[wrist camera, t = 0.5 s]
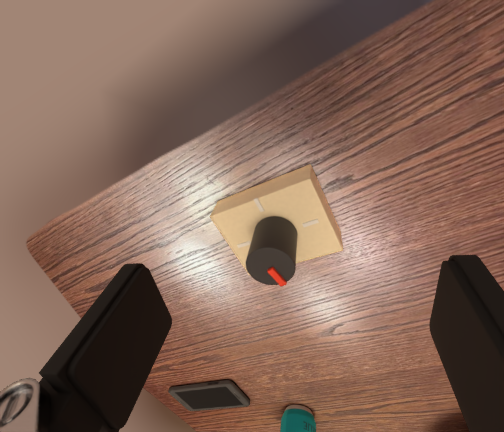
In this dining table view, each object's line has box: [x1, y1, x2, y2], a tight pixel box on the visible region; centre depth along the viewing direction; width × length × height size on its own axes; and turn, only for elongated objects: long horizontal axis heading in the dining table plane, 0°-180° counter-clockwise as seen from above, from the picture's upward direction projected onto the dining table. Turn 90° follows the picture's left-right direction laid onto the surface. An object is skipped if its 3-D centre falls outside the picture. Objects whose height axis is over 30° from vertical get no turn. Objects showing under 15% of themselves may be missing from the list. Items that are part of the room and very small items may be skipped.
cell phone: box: [169, 380, 250, 411], centre depth 52 cm, size 7×14×1 cm, turn 119°
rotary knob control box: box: [210, 164, 343, 276], centre depth 28 cm, size 10×8×3 cm
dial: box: [246, 216, 298, 286], centre depth 25 cm, size 4×4×5 cm
